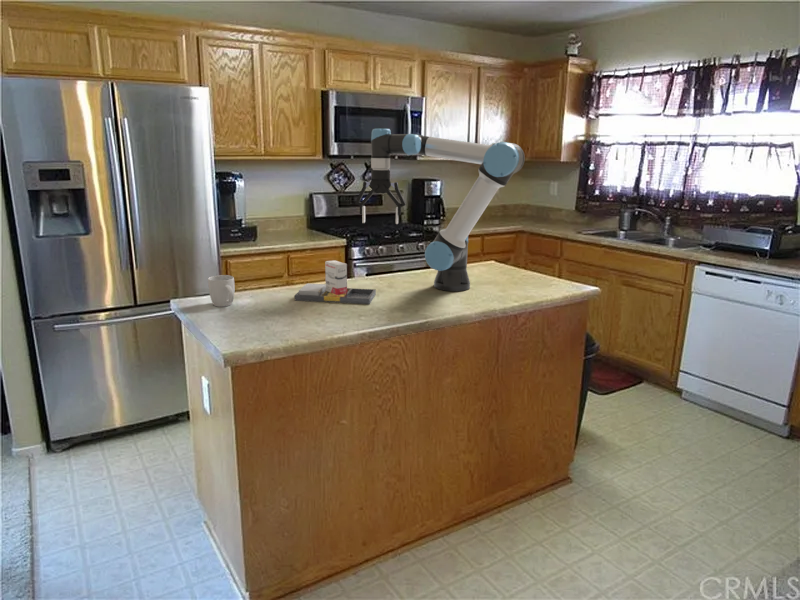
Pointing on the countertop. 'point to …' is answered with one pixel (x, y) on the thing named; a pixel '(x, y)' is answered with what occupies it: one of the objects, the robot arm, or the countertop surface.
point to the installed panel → (312, 289)
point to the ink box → (336, 277)
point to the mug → (221, 290)
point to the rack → (341, 296)
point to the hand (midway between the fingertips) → (380, 223)
